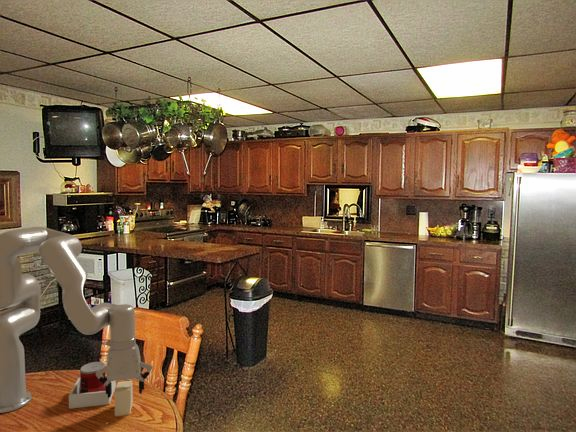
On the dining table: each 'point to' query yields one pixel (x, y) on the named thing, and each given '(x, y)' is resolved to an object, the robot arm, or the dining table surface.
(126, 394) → the plain beige cuboid
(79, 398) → the box
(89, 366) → the canned food
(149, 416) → the dining table surface
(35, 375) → the dining table surface
